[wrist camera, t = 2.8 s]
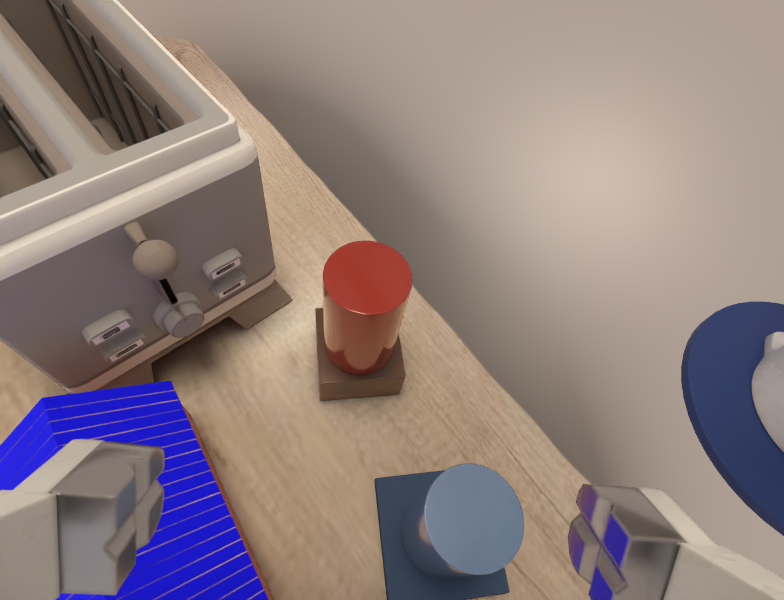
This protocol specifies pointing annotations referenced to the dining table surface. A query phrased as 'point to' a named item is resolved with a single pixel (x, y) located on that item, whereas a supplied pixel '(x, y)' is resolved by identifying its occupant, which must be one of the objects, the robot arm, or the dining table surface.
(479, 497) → the blue canister
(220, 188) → the toaster
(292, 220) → the dining table surface
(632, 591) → the robot arm
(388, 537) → the blue mat
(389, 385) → the riser
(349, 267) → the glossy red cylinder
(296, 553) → the dining table surface
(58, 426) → the house
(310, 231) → the dining table surface
